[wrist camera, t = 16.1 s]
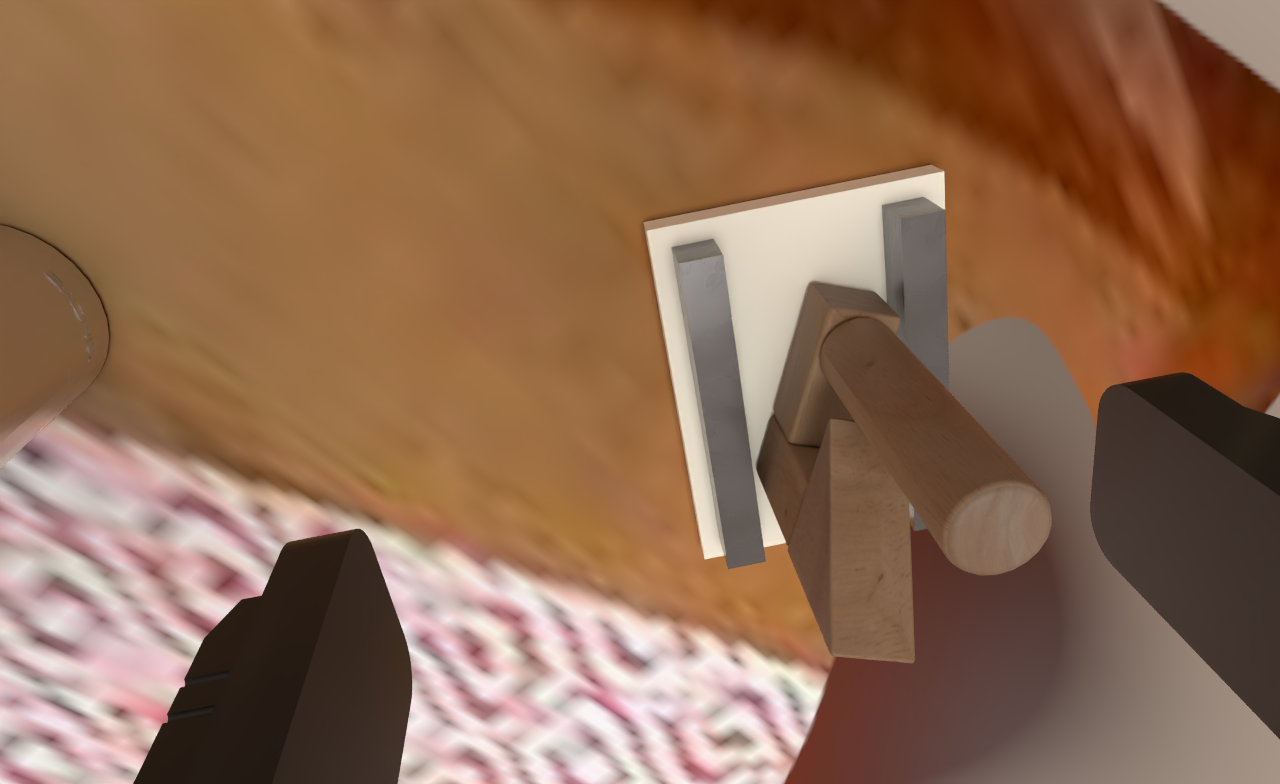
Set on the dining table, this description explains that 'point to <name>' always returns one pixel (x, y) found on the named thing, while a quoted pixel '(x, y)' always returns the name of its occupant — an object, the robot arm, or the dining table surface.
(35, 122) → the dining table surface
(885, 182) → the slotted base
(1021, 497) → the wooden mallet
